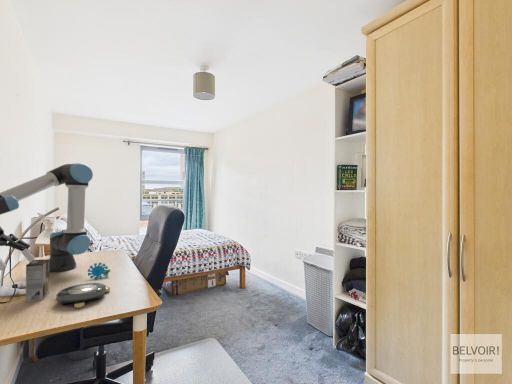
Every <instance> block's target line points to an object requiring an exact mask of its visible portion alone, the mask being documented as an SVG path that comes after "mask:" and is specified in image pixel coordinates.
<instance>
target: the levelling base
mask: <svg viewBox="0 0 512 384" xmlns="http://www.w3.org/2000/svg"><path fill="white" fill-rule="evenodd" d="M110 292H111V287H110V286H107V285H106V284H104V283H100V282H87V283H80V284H75V285H72V286H68V287H66V288H63V289H60V291H59V292H58V293H57V294H56V297H55V299H56V300H57V301H59V302H61V306H67V305H70V304H71V303H74V304H73V306H74V310H82V309H83V308H85V307H86V302H87V301H89V300H92V301H100V300H101V298H102V296H103V295H105V294H107V293H110ZM85 301H86V302H85Z"/></svg>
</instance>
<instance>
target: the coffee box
mask: <svg viewBox="0 0 512 384" xmlns="http://www.w3.org/2000/svg"><path fill="white" fill-rule="evenodd" d="M49 260H50V259H49V258H48V259H47V258H46V259H45V258H44V259H34V260H33V261H31V262H28V263H27V264H26V265H25V275H26V276H25V302H26V303H27V302H29V303H30V302H37V301H38V302H39V301H43V300H44V299H45V298H46V297H47V296H48V295H49V294H50V273H51V272H49V270H50V269H49V268H50V262H49Z"/></svg>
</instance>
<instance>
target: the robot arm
mask: <svg viewBox="0 0 512 384" xmlns="http://www.w3.org/2000/svg"><path fill="white" fill-rule="evenodd" d="M93 176H94V174H93V171H92V169H91V167H90V166H88V165H87V164H86V163H80V162H79V163H77V162H76V163H66V164H63V165H60V166H58V167H55V168H53V169H51V170H48V171H46V173H45V174H44V175H41V176H39V177H36V178H33V179H31V180H29V181H26V182H23V183H21V184H19V185H16V186H13V187H12V188H8V189H6V190H4V191H1V192H0V215H3V214H7V213H10V212H13V211H15V210H17V209H18V208H19V207H20V204H19V202H20V201H21V200H25V199H26V198H28V197H30V196H33V195H36V194H37V193H41V192H42V191H45V190H47V189H49V188H51V187H53V186H55V187H58V186H60V185H65V188H67V211H66V215H67V217H66V229H65V230H64V231H55V232H51V233H50V236H49V257H48V259H50V260H49V262H50V268H49V269H50V270H49V272H50V273H51V272H52V273H57V272H65V271H69V270H73V269H76V267H77V262H76V260H75V257H74V255H75V256H76V255H77V256H78V255H81V254H84V253H86V251H88V249H89V248H90V246H91V239H90V237H88V234H87V233H88V230H87V229H85V213H86V212H85V209H86V208H85V207H86V189H87V188H89V182H90V181H92V179H93ZM18 239H19V238H18V237H16V235H14V234H13V233H10V234H9V235H6V234H5V232H4V229H3V227H1V226H0V247H4V246H5V247H10V248H13V249H15V250H17V251H20V252H21V254H22V255H23V256H24V258H25V260H27V261H28V263H30V262H31V261H33V260H36V257H35V256H34V255H33V254H32V251H30V250H29V248H31V245H30V244H29V243H27V242H25V240H21V239H20V240H19V241H18V242H15V241H16V240H18ZM6 267H7V264H6V263H5V262H4V261H3V260H2V259H1V258H0V272H1V271H3V270H5V268H6Z"/></svg>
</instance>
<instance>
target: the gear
mask: <svg viewBox="0 0 512 384" xmlns="http://www.w3.org/2000/svg"><path fill="white" fill-rule="evenodd" d="M93 266H94V267H93ZM108 268H109V267H108V266H107V265H106V263H103V264H102V262H99V263H93V265H89V268H88V269H87V276H89V277H90V279H93V278H94V280H98V277H99V279H103V277H106V276H109V273H110V272H111V269H110V268H109V269H108ZM102 275H103V277H102Z"/></svg>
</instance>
